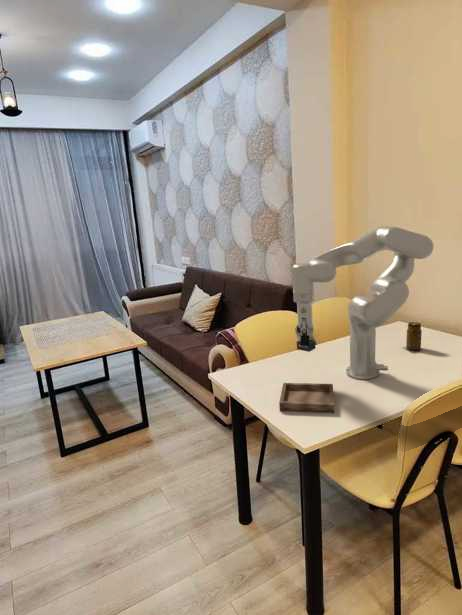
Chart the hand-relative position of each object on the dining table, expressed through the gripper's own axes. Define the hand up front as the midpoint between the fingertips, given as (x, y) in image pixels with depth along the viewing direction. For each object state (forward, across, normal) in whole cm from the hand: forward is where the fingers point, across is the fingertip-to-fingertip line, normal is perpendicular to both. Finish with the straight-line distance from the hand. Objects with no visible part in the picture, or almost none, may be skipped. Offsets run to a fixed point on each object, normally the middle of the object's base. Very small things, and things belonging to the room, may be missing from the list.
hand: (305, 341), depth 156 cm
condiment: (+18, +37, -46) cm, 62 cm away
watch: (+3, 0, 0) cm, 3 cm away
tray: (+17, -16, 0) cm, 23 cm away
